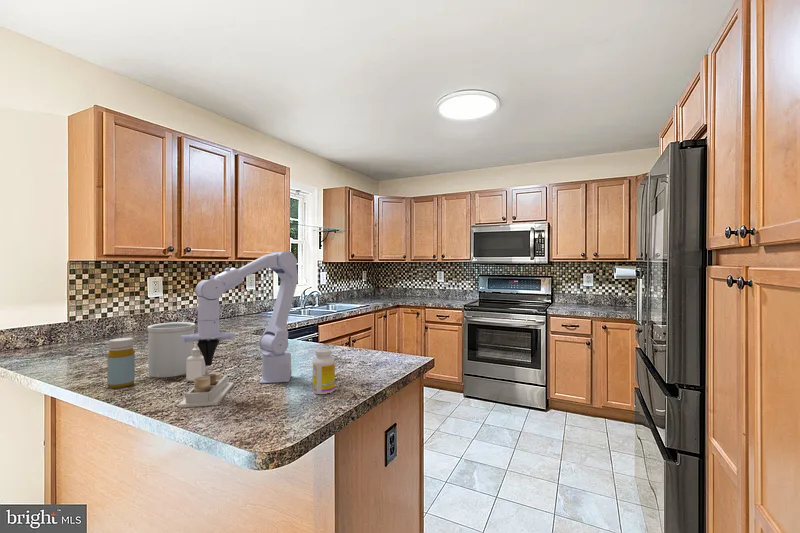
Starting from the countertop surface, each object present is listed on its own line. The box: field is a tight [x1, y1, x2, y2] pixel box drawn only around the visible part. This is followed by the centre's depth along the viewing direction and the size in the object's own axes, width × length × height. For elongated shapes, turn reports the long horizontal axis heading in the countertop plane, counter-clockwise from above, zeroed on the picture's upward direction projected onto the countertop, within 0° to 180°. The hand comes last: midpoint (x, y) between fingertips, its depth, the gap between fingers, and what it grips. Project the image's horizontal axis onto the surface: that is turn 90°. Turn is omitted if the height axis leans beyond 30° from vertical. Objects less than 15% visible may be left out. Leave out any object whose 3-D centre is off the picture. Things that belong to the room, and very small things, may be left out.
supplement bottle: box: [312, 348, 336, 395], centre depth 111 cm, size 7×7×13 cm
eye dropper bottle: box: [185, 344, 206, 383], centre depth 123 cm, size 4×6×12 cm
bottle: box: [106, 337, 136, 389], centre depth 118 cm, size 7×7×15 cm
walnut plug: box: [202, 373, 216, 386], centre depth 109 cm, size 4×4×4 cm
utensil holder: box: [147, 321, 196, 378], centre depth 133 cm, size 15×15×18 cm
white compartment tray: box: [177, 374, 235, 409], centre depth 109 cm, size 10×18×4 cm, turn 12°
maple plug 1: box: [193, 376, 210, 393], centre depth 103 cm, size 4×4×4 cm
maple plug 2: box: [208, 371, 222, 380], centre depth 114 cm, size 4×4×4 cm
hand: (208, 364), depth 109 cm, fingers closed
